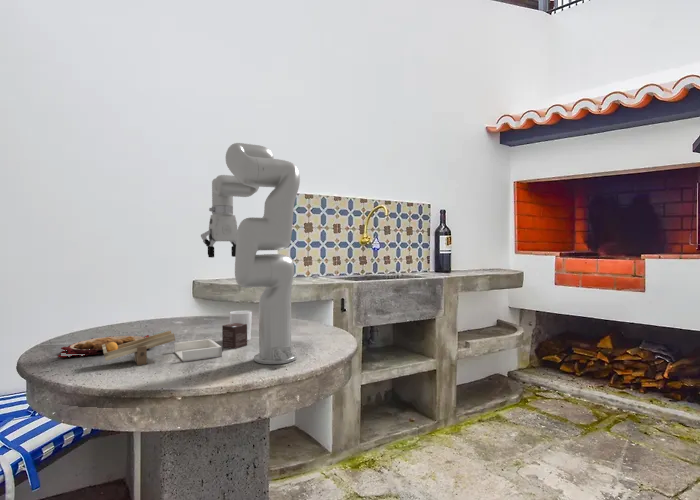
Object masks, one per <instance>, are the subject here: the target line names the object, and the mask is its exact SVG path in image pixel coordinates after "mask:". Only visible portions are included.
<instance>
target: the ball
mask: <svg viewBox="0 0 700 500" xmlns="http://www.w3.org/2000/svg"><path fill="white" fill-rule="evenodd" d="M117 348H118V345H117V344H116V343H115V342H110V343H108V344H107V346H106V350H107V351H108V352H110V351H113V350H117Z"/></svg>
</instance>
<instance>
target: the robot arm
mask: <svg viewBox="0 0 700 500" xmlns="http://www.w3.org/2000/svg"><path fill="white" fill-rule="evenodd" d="M225 164H226V166H227V168H228V170H229V171H230V173H232V174H231V175H228V174H220V175H217V176H216V178H213V179H212V181H211V204H212V205H211V207H209V209H208V211H209V212H211V215H210V217H209V223H208V230H207V231H205V232H203V233H202V234H200V237H201V239H202V242H203V244H204V245H206V247H207V257H208V258H215V246H214V245H215V244H216V242H230V244H231V245H232V246H231V250H230V251H231V257H234V259H235V260H234V277H235V281H236V284H237V285H238V286H239V287H242V288H245V289H247V288H250V289H251V288H263V287H264V288H265V289H264V290H263V291H262V294H260V297H259V301H258V331H259V332H258V337H259V339H258V345H259V353H256V354H255V355H254V356H253V361H255V363H258V364H261V365H282V364H287V363H291V362H293V361H295V360H297V353H295V352H294V351H292V288H293V281H294V277H295V266H294V262H293V260H292V259H291V257H289V256H288V255H286V254H280V253H279V254H278V253H263V254H257V252H259V251H282V250H286V249H287V248H289V247H290V245H291V242H292V236H293V235H292V234H293V221H294V210H295V209H294V208H295V202H296V198H297V195H298V192H299V189H300V183H301V179H300V178H301V176H300V171H299V169H298V167H297V165H296V164H294V163H293V162H291V161H288V160H285V159H279V158H274V154H273V152H272V151H271V150H270V149H269V148H268V147H266V146H264V145H258V144H251V143H243V142H234V143H232V144H231V145H229V147H228V148H227V150H226V152H225ZM260 188H274V189H272V190H271V192H270V193H269V194H268V196H267V197H266V199H265V201H264V210H263V216H262V217H246V218H244V219H243V220H241V222H240V223H239V225H238V222H237V219H236V215H234V197H235V198H236V197H238V198H239V197H240V198H248V197H251V196H253V195H254V194H255V193H257V192H258V191H259V189H260ZM207 237H208V238H207Z"/></svg>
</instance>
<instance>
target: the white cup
mask: <svg viewBox="0 0 700 500" xmlns="http://www.w3.org/2000/svg"><path fill="white" fill-rule="evenodd" d="M252 314H253V311H252V310H233V311H230V312H229V324H232V323H240V324H247V341H250V340H251V338H252V336H251V335H252V333H251V332H252V324H253V323H252V321H253V315H252Z"/></svg>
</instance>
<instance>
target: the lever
mask: <svg viewBox="0 0 700 500" xmlns="http://www.w3.org/2000/svg"><path fill="white" fill-rule="evenodd" d="M175 341H177V340H176V337H175V333H174V332H173V333H172V330H168V331H165V330H162V331H159V332H155V333H152V335H149V337H146V338H142V339H139V340H135V341H132V342H128V343H125V344H121V345H118V348H117V350H113V351H110V352H108V351H107V350H106V346H105V344H104V345H102V348H103V350H102V352H104V354H103V356H104V359H105V362H107V361H111V360H114V359H117V358H121V357H125V356H127V355H132V354H134V353H135V352H137V347H140V346H146V347H147V350H148V349H151V348H154V347H158V346H162V345H164V344H168V343H172V342H175Z"/></svg>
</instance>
